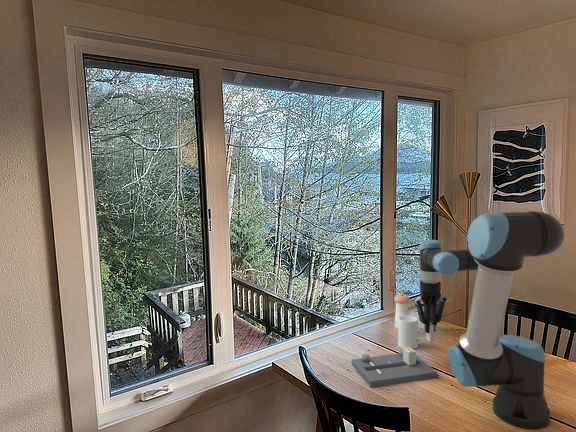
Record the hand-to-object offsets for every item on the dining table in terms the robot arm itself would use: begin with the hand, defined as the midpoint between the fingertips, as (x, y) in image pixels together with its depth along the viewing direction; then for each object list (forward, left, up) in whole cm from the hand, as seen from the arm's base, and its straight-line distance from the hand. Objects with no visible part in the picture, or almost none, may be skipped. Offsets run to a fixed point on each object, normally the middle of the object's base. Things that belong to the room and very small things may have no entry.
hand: (430, 340), depth 154 cm
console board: (0, +16, -10) cm, 19 cm away
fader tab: (0, +9, -8) cm, 12 cm away
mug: (+18, -2, -10) cm, 20 cm away
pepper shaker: (+32, -5, -10) cm, 33 cm away
